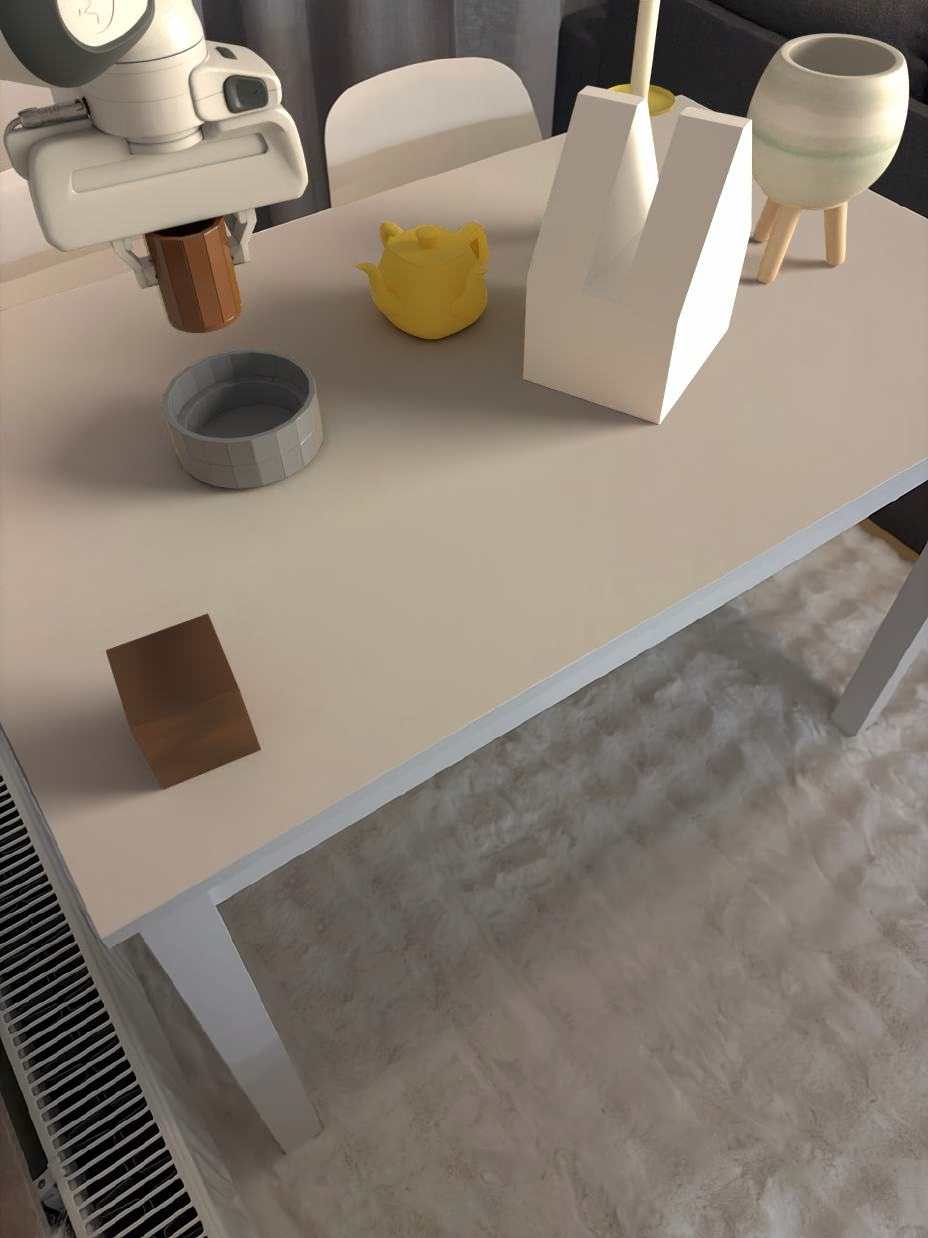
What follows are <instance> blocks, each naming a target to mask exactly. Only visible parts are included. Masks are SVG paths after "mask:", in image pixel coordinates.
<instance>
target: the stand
mask: <svg viewBox="0 0 928 1238" xmlns="http://www.w3.org/2000/svg"><path fill="white" fill-rule="evenodd" d="M105 653H106V657H107V660H108V663H109V666H110V671H111V673H112V677H113V679H114V683H115V685H116V689H117V693H118V695H119V698H120V702H121V705H122V708H123V712H124V715H125V719H126V721H127V724H128V725H127V726H128V728H129V731H130V732H131V734H132V736H133V737H134V740H135V741H136V743H137V745H138V747H139V749H140V751H141V753H142V754H143V756H144V758H145V759H146V762H147V763H148V765H149V767H150V768H151V770H152V772H153V774H154V776H155V778H156V779H157V781H158V784H159V785H160V787H161V789H162V790H166V789H169V788H171V787H173V786H176V785H178V784H181V783H184V782H186V781H189V780H191V779H193V778H195V777H199V776H200V775H202V774H205V773H207V772H211V771H213V770H215V769H217V768H220V767H223V766H225V765H227V764H230V763H233V762H235V761H236V760H240V759H241V758H244V757H247V756H249V755H252V754H254V753H256V752H260V751H261V750H262V748H261V745H260V742H259V740H258V736H257V734H256V731H255V728H254V726H253V723H252V720H251V717H250V715H249V712H248V709H247V706H246V703H245V700H244V698H243V695H242V693H241V690H240V687H239V684H238V682H237V680H236V677H235V675H234V672H233V670H232V668H231V667H232V666H231V664H230V663H229V660H228V658H227V656H226V653H225V651H224V648H223V646H222V643H221V640H220V637H219V636H218V633H217V631H216V629H215V626H214V624H213V621H212V619H211V616H210V614H209V613H204V614H202V615H199V616H196V617H194V618H190V619H189V620H185V621H183V622H180V623H177V624H175V625H171V626H169V627H166V628H163V629H161V630H160V629H159V630H157V631H155V632H153V633H152V632H151V633H149V634H146V635H143V636H141V637H139V638H136V639H133V640H130V641H127V642H125V643H121V644H118V645H115V646H114V647H111V648H107V649H105Z"/></svg>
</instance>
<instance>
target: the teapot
mask: <svg viewBox="0 0 928 1238" xmlns="http://www.w3.org/2000/svg"><path fill="white" fill-rule="evenodd" d="M379 235H380V239H381V240H380V241H381V242H382V246H383V251H382V254H381V256H380V259H379V262H378V265H376V264H374V263H371V262H360V263H357V264H355V265H354V268H355V269H358V270H361V271H363V272H364V273H365V274H366V276H367V278H368V281H369V287H370V294H371V298H372V300H373V303H374V305H376V307H377V308H378V309H379V310H380V311H381V312H382V313H383V314H384V315H385V317H386V318H387V319H388V320H389V321H390V322H391V324H393V325H394V326H395V327H397V328H398V329H399V330H401V331H403V332H405V333H407V334H409V335H411V336H414V337H417V338H420V339H425V340H438V339H442V338H446V337H448V336H451V335H454V334H456V333H458V332H461V331H462V330H463V329H466V328H467V327H469V326H471V325H472V324H473V323H474V322H476V321H477V320H478V319H479V318H480V317H481V316H482V314H483V313H484V311H485V309H486V307H487V304H488V290H487V285H486V280H485V277H484V274H486V273H489V268H487V267H485V265H486V263H488V260H489V259H490V258H491V256H490V255H491V254H490V250H489V245H488V239H487V234H486V230H485V226H484V225H483V224H481V223H479V222H477V221H474V220H473V221H470V222H469V223H467V224H466V225H464V226H462V227H461V228H460V229H459V228H458V230H456V231H452V230H450V229H448V228H445V227H443V226H440V225H437V224H420V225H417V226H414V227H412V228H410V229H407V230H403V229H402V228H401V227H399V226H398V225H397V224H395V223H394V222H392V221H384V222H382V223H380V226H379Z"/></svg>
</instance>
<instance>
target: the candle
mask: <svg viewBox="0 0 928 1238" xmlns="http://www.w3.org/2000/svg"><path fill="white" fill-rule="evenodd" d="M660 3H661V0H639V4H638V13H637V22H636V30H635V38H634V39H635V40H634V49H633V56H632V57H633V58H632V66H631V75H630V83H625V84H617V85H615V86H612V87H609V88H607V90H612V91H617V92H621V93H626V94H631V95H636V96H641V97H646V98H647V104H648V111H649V118H651V117H656V116H657V117H658V116H662V115H663V114H666V113H669V112H670V111H671V110H672V109H673V108H674V107H675V105H676V95H674V94H673V93H672V92H671V91H670V90H668V89H666V88H663V87H661V86H659V85H658V86H657V85H652V84H650V83H651V82H650V81H651V74H652V66H653V60H654V59H653V58H654V51H655V44H656V34H657V26H658V19H659V10H660Z"/></svg>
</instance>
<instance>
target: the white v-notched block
mask: <svg viewBox="0 0 928 1238" xmlns="http://www.w3.org/2000/svg"><path fill="white" fill-rule="evenodd" d="M607 89H608V88H607ZM607 89H606V88H603V87H602V88H601V87H598V86H597V87H596V86H592V85H586V86H585V87H584V88H583V89H581V90H580V91H579V92H578V93H577V95H576V99H575V102H574V106H573V110H572V114H571V117H570V121H569V125H568V128H567V131H566V135H565V138H564V143H563V145H562V149H561V153H560V158H559V161H558V164H557V167H556V170H555V175H554V178H553V182H552V186H551V189H550V193H549V197H548V200H547V204H546V207H545V211H544V215H543V219H542V222H541V225H540V228H539V233H538V237H537V240H536V243H535V247H534V250H533V254H532V257H531V262H530V264H529V265H530V266H529V269H528V272H527V276H526V290H525V291H526V293H525V319H524V321H525V322H524V344H523V346H524V349H523V370H522V371H523V374H522V376H523V377H522V380H524V381H528V382H531V383H534V384H536V385H540V386H543V387H545V388H548V389H551V390H555V391H557V392H560V393H563V394H565V395H566V394H567V395H569V396H573V397H575V398H579V399H581V400H585V401H588V402H591V403H594V404H596V405H600V406H602V407H604V408H609V409H611V410H615V411H617V412H620V413H623V414H625V415H628V416H631V417H632V416H633V417H635V418H638V419H640V420H641V419H642V420H644V421H647V422H650V423H653V424H656V425H661V423H662V422H663V420H664V419H665V417H666V416H667V415H668V414H669V412H670V410H671V409H672V408H673V406H674V405H675V404H676V402H677V400H678V399H679V398H680V397H681V395H682V393H683V392H684V391H685V390H686V388H687V387H688V385H689V384H690V382H691V381H692V379H693V378H694V377H695V376H696V374H697V373H698V371H699V370H700V368H701V367H702V366H703V365H704V363H705V361H706V360H707V358H708V357H709V356H710V354H711V353H712V352H713V350H714V349H715V347H716V346H717V344H718V343H719V342H720V340H721V339H722V338H723V336H724V335H725V334H726V332H727V331H728V329H729V327H730V326H729V325H730V321H731V317H732V312H733V307H734V303H735V300H736V295H737V291H738V286H739V283H740V277H741V273H742V269H743V265H744V260H745V256H746V252H747V247H748V243H749V239H750V234H751V230H752V174H751V157H752V119H747V118H746V117H742V116H737V115H733V114H727V113H722V112H719V111H713V110H708V109H704V108H698V107H694V106H689V105H688V106H685V108H684V109H683V110H682V111H681V112H680V113H679V114H678V116H677V120H676V123H675V126H674V129H673V132H672V136H671V139H670V142H669V145H668V149H667V151H666V154H665V157H664V161H663V164H662V167H661V169H660V170H661V171H660V174H659V173H658V165H657V160H656V153H655V145H654V138H653V131H652V126H651V120H650V119H651V117H649V111H648V104H647V98H646V97H641V96H636V95H631V94H626V93H621V92H617V91H612V90H607Z"/></svg>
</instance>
